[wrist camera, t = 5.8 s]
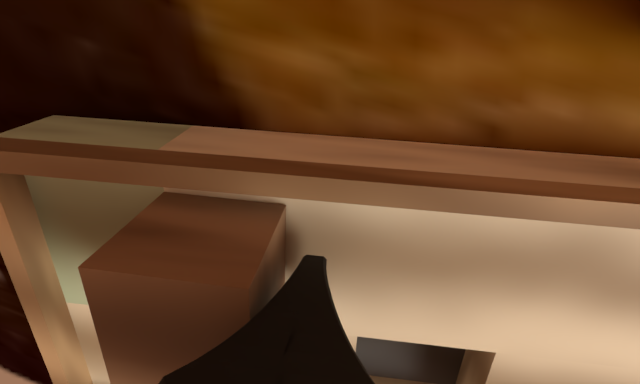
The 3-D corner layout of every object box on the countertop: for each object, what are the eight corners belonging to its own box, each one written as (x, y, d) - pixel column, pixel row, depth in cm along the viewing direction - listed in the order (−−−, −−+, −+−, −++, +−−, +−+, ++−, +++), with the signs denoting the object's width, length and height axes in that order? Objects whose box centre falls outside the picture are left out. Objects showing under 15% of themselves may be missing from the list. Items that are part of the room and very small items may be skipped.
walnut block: (284, 303, 15) (252, 407, 11) (177, 288, 16) (110, 385, 12) (286, 204, 13) (248, 289, 9) (164, 191, 14) (78, 267, 10)
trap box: (579, 407, 20) (627, 497, 17) (117, 349, 22) (66, 417, 19) (707, 163, 14) (831, 220, 10) (53, 115, 16) (-42, 147, 12)
